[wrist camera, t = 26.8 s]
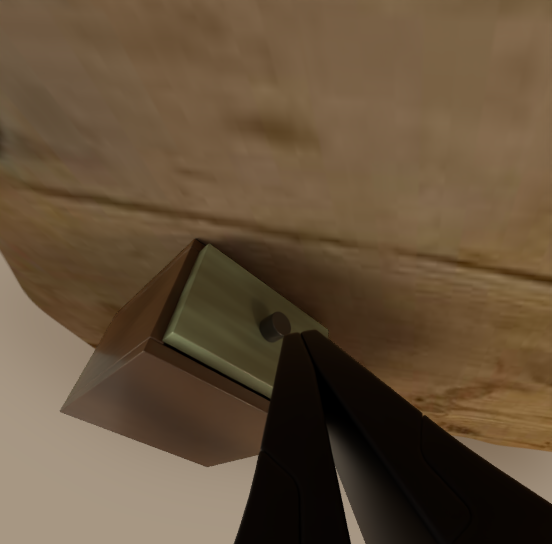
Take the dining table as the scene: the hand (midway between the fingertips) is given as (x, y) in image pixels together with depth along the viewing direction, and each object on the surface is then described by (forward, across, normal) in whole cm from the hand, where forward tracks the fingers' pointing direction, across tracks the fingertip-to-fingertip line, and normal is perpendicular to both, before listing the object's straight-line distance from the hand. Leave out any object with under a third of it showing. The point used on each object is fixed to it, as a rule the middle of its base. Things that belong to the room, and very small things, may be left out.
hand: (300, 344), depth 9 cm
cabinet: (+17, +4, +11) cm, 21 cm away
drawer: (+15, +3, +10) cm, 18 cm away
